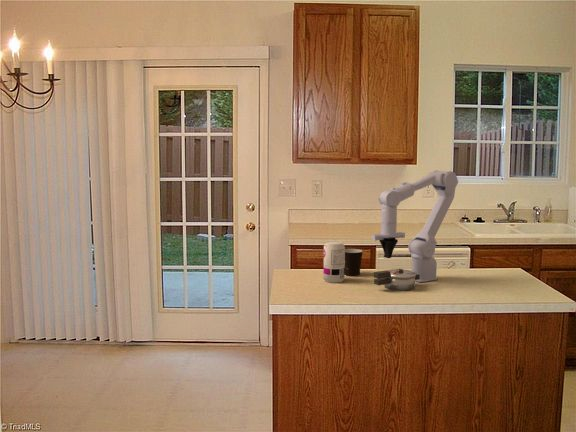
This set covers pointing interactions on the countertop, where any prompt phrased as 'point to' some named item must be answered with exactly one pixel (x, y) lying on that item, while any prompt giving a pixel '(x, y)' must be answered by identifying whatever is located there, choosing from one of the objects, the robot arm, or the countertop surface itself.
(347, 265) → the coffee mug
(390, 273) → the lid
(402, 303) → the countertop surface
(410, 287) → the pot
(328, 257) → the supplement can
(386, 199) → the robot arm
